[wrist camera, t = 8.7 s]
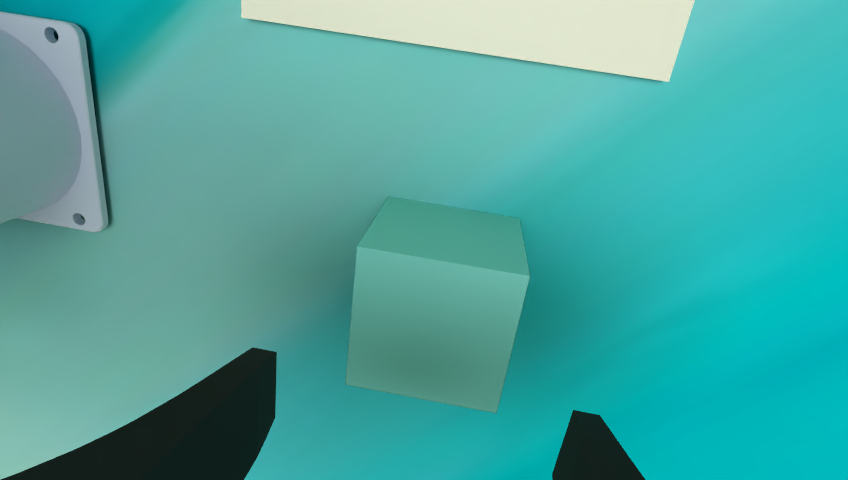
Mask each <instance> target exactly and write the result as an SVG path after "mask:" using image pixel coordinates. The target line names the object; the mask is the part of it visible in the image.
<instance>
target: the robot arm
mask: <svg viewBox="0 0 848 480" xmlns="http://www.w3.org/2000/svg"><path fill="white" fill-rule="evenodd" d="M54 30H56V31H57V33H58V36H59V37H58V41H57V40H56V39H55V37H54ZM80 214H81V215H82V216H83V217H84V219H85V221H84V220H83V219H82V218H81V215H80ZM15 218H18V219H23V220H29V221H34V222H40V223H45V224H51V225H56V226H62V227H67V228H73V229H78V230H84V231H89V232H99V231H101V230H103V229H105V228H106V227H107V225H108V214H107V206H106V198H105V190H104V182H103V174H102V166H101V158H100V150H99V142H98V134H97V126H96V118H95V110H94V102H93V94H92V86H91V78H90V70H89V62H88V54H87V46H86V39H85V36H84V33H83V31H82V30H81V28H80V27H78V26H77V25H76V24H74V23H71V22H66V21H59V20H53V19H47V18H40V17H34V16H27V15H21V14H14V13H8V12H1V11H0V224H1V223H4V222H7V221H9V220H12V219H15ZM276 355H277V352H273V351H268V350H263V349H258V348H251V349H249V350H248V351H246V352H245V353H243V354H242V355H240V356H239V357H237V358H235V359H234V360H232V361H231V362H229V363H228V364H226V365H225V366H223V367H222V368H220V369H219V370H217V371H216V372H214V373H212V374H211V375H209V376H208V377H206V378H205V379H203V380H202V381H200V382H198V383H197V384H195V385H194V386H192V387H191V388H189V389H187V390H186V391H184V392H183V393H181V394H179V395H178V396H176V397H174V398H173V399H171V400H169V401H167V402H166V403H164V404H162V405H160V406H159V407H157V408H155V409H153V410H152V411H150V412H148V413H147V414H145V415H143V416H141V417H140V418H138V419H136V420H134V421H132V422H130V423H129V424H127V425H125V426H123V427H121V428H119V429H117V430H115V431H113V432H111V433H109V434H107V435H105V436H103V437H101V438H99V439H96V440H94V441H92V442H90V443H88V444H86V445H84V446H82V447H79V448H77V449H75V450H73V451H70V452H68V453H66V454H63V455H61V456H58V457H56V458H54V459H51V460H49V461H46V462H44V463H42V464H39V465H37V466H34V467H32V468H30V469H27V470H25V471H22V472H20V473H17V474H15V475H12V476H9V477H7V478H4V479H1V480H244V479H245V477H246V475H247V474H248V472H249V470H250V468H251V467H252V465H253V463H254V462H255V460H256V458H257V457H258V454H259V452H260V450H261V448H262V446H263V444H264V441H265V439H266V437H267V435H268V432H269V430H270V428H271V426H272V423H273V421H274V419H275V399H276ZM552 478H553V480H645V478H644V477H643V476H642V474H641V473H640V472H639V470H638V469H637V467H636V466H635V465H634V463H633V462H632V461H631V459H630V458H629V456H628V455H627V453H626V452H625V451H624V449H623V448H622V446H621V445H620V444H619V442H618V441H617V439H616V438H615V436H614V435H613V433H612V432H611V431H610V429H609V428H608V426H607V425H606V423H605V422H604V421H603V419H602V418H601V416H600V415H596V414H591V413H585V412H580V411H575V410H573V413H572V416H571V419H570V422H569V425H568V428H567V431H566V434H565V437H564V440H563V443H562V446H561V449H560V452H559V455H558V458H557V461H556V464H555V467H554V470H553V473H552Z"/></svg>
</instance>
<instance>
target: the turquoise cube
mask: <svg viewBox="0 0 848 480" xmlns="http://www.w3.org/2000/svg"><path fill="white" fill-rule="evenodd" d="M529 278H530V274H529V268H528V263H527V257H526V252H525V246H524V241H523V235H522V230H521V224H520V219H519V218H516V217H510V216H504V215H498V214H492V213H486V212H480V211H474V210H468V209H461V208H455V207H449V206H443V205H437V204H431V203H425V202H419V201H413V200H407V199H401V198H395V197H388V199H387V200H386V202H385V203H384V205H383V207H382V208H381V210H380V211H379V213H378V214H377V216H376V217H375V219H374V221H373V222H372V224H371V225H370V227H369V228H368V230H367V232H366V233H365V235H364V236H363V238H362V239H361V241H360V243H359V244H358V246H357V252H356V264H355V276H354V288H353V299H352V311H351V323H350V335H349V347H348V358H347V370H346V382H345V385H350V386H356V387H361V388H366V389H371V390H377V391H382V392H387V393H393V394H398V395H403V396H408V397H414V398H419V399H424V400H429V401H435V402H440V403H445V404H451V405H456V406H461V407H466V408H472V409H477V410H482V411H487V412H493V413H497V409H498V405H499V401H500V397H501V393H502V389H503V385H504V381H505V376H506V372H507V368H508V364H509V360H510V356H511V352H512V348H513V344H514V340H515V335H516V331H517V327H518V323H519V319H520V315H521V311H522V307H523V303H524V299H525V294H526V290H527V286H528V282H529Z"/></svg>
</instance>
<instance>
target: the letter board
mask: <svg viewBox="0 0 848 480" xmlns="http://www.w3.org/2000/svg"><path fill="white" fill-rule="evenodd" d="M694 1H695V0H241V18H248V19H255V20H261V21H268V22H275V23H281V24H288V25H295V26H301V27H308V28H314V29H321V30H328V31H334V32H341V33H348V34H354V35H361V36H368V37H374V38H381V39H387V40H394V41H401V42H407V43H414V44H421V45H427V46H434V47H441V48H447V49H454V50H460V51H467V52H474V53H480V54H487V55H494V56H500V57H507V58H514V59H520V60H527V61H534V62H540V63H547V64H553V65H560V66H567V67H573V68H580V69H587V70H593V71H600V72H607V73H613V74H620V75H626V76H633V77H640V78H646V79H653V80H660V81H666V82H669V79H670V76H671V73H672V70H673V67H674V64H675V60H676V57H677V54H678V51H679V48H680V45H681V42H682V39H683V35H684V32H685V29H686V26H687V23H688V20H689V17H690V13H691V10H692V7H693V4H694Z"/></svg>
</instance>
